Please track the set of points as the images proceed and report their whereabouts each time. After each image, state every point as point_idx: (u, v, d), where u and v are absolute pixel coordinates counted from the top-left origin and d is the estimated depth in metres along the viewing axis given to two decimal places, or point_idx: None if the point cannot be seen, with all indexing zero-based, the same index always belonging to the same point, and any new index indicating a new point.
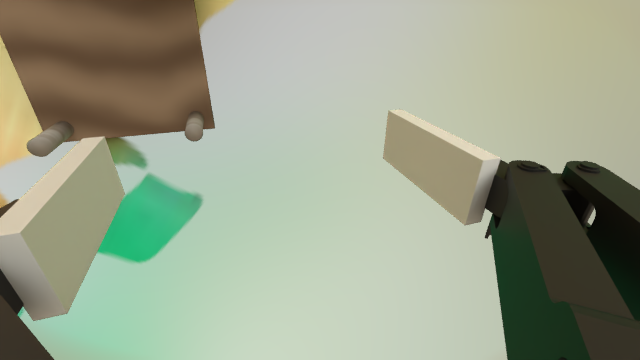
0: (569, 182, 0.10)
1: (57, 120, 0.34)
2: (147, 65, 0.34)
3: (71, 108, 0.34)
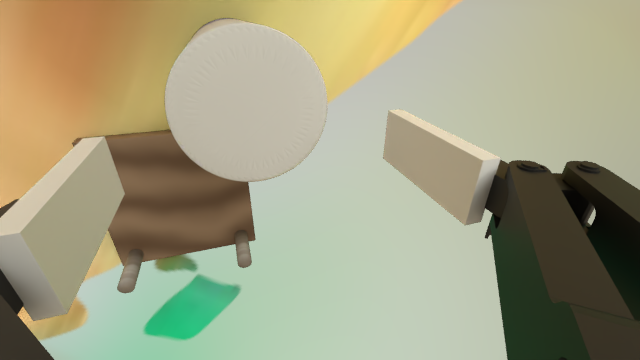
0: (569, 182, 0.10)
1: (131, 249, 0.41)
2: (205, 203, 0.41)
3: (143, 239, 0.41)
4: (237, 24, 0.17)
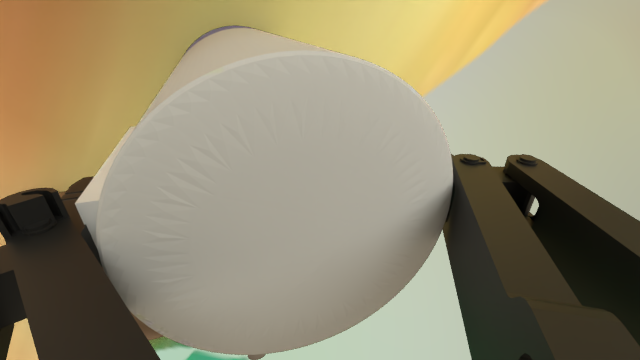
0: (512, 176, 0.10)
1: None
2: None
3: None
4: (283, 54, 0.06)
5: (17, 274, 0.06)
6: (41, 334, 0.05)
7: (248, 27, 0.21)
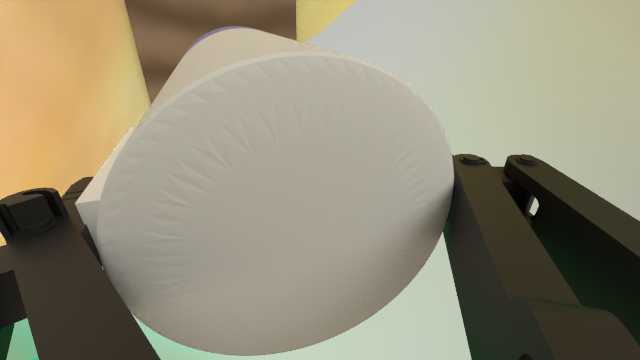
0: (511, 176, 0.10)
1: None
2: None
3: None
4: (284, 55, 0.06)
5: (17, 274, 0.06)
6: (41, 334, 0.05)
7: (248, 27, 0.21)
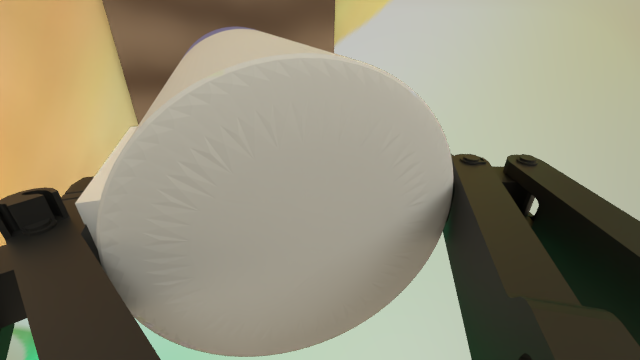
0: (511, 176, 0.10)
1: None
2: None
3: None
4: (283, 57, 0.06)
5: (17, 274, 0.06)
6: (41, 334, 0.05)
7: (248, 28, 0.21)
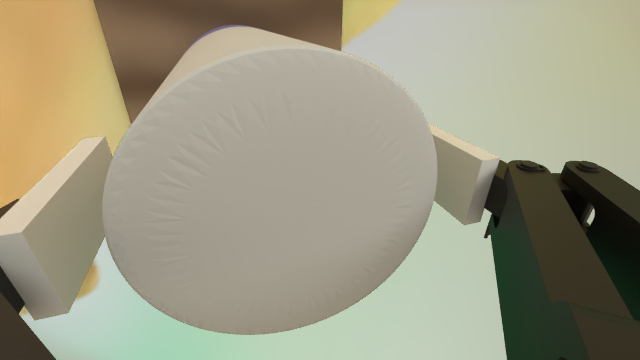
0: (568, 182, 0.10)
1: None
2: None
3: None
4: (273, 48, 0.07)
5: None
6: None
7: None
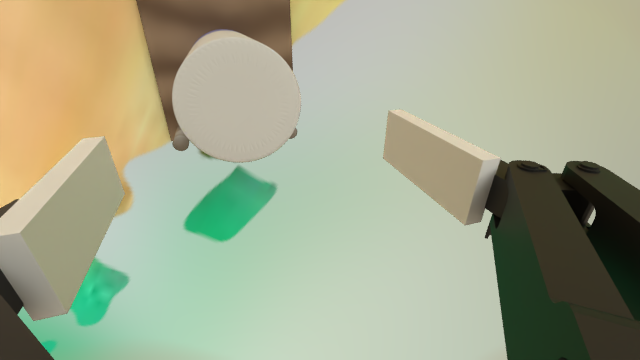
0: (569, 182, 0.10)
1: None
2: None
3: None
4: (227, 38, 0.22)
5: None
6: None
7: None
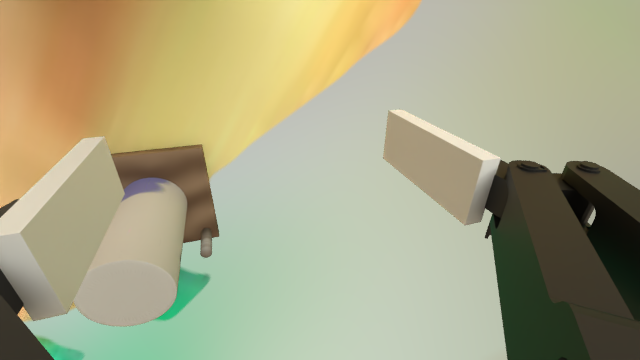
0: (569, 182, 0.10)
1: None
2: None
3: None
4: (109, 262, 0.32)
5: None
6: None
7: (149, 183, 0.47)
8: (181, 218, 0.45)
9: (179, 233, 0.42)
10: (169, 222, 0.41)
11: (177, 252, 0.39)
